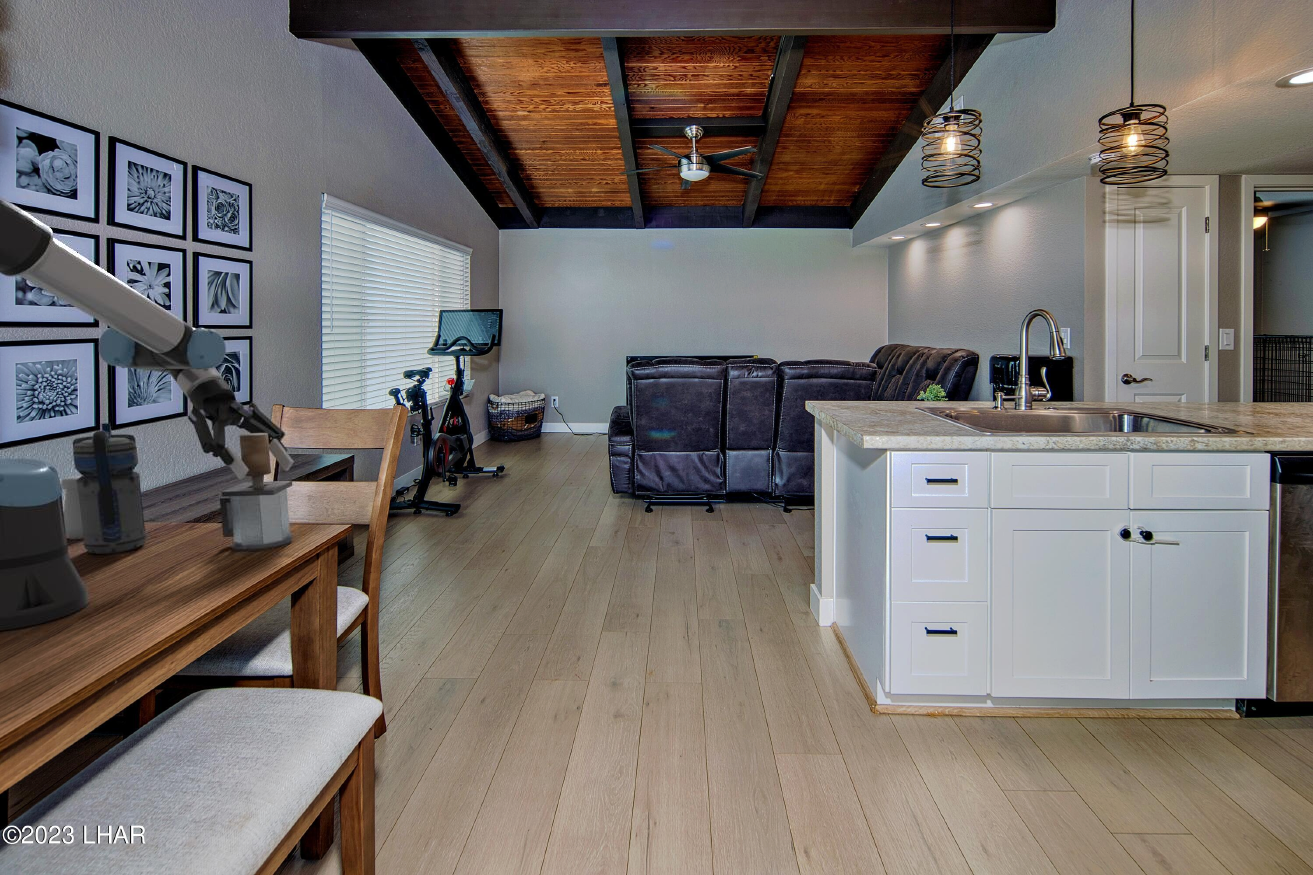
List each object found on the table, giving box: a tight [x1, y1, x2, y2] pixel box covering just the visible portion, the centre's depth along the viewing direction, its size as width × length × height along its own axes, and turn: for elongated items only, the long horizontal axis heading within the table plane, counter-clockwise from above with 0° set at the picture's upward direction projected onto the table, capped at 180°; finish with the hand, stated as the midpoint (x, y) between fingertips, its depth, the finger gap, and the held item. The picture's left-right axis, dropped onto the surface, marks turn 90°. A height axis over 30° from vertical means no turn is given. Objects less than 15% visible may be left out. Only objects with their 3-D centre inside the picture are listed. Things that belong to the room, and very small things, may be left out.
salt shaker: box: [61, 475, 84, 540], centre depth 156 cm, size 6×6×13 cm
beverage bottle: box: [72, 422, 147, 555], centre depth 145 cm, size 10×13×25 cm
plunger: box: [239, 433, 272, 488], centre depth 148 cm, size 5×5×16 cm
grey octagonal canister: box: [219, 480, 294, 552], centre depth 149 cm, size 12×11×12 cm
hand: (267, 470), depth 146 cm, fingers open, 9 cm apart
